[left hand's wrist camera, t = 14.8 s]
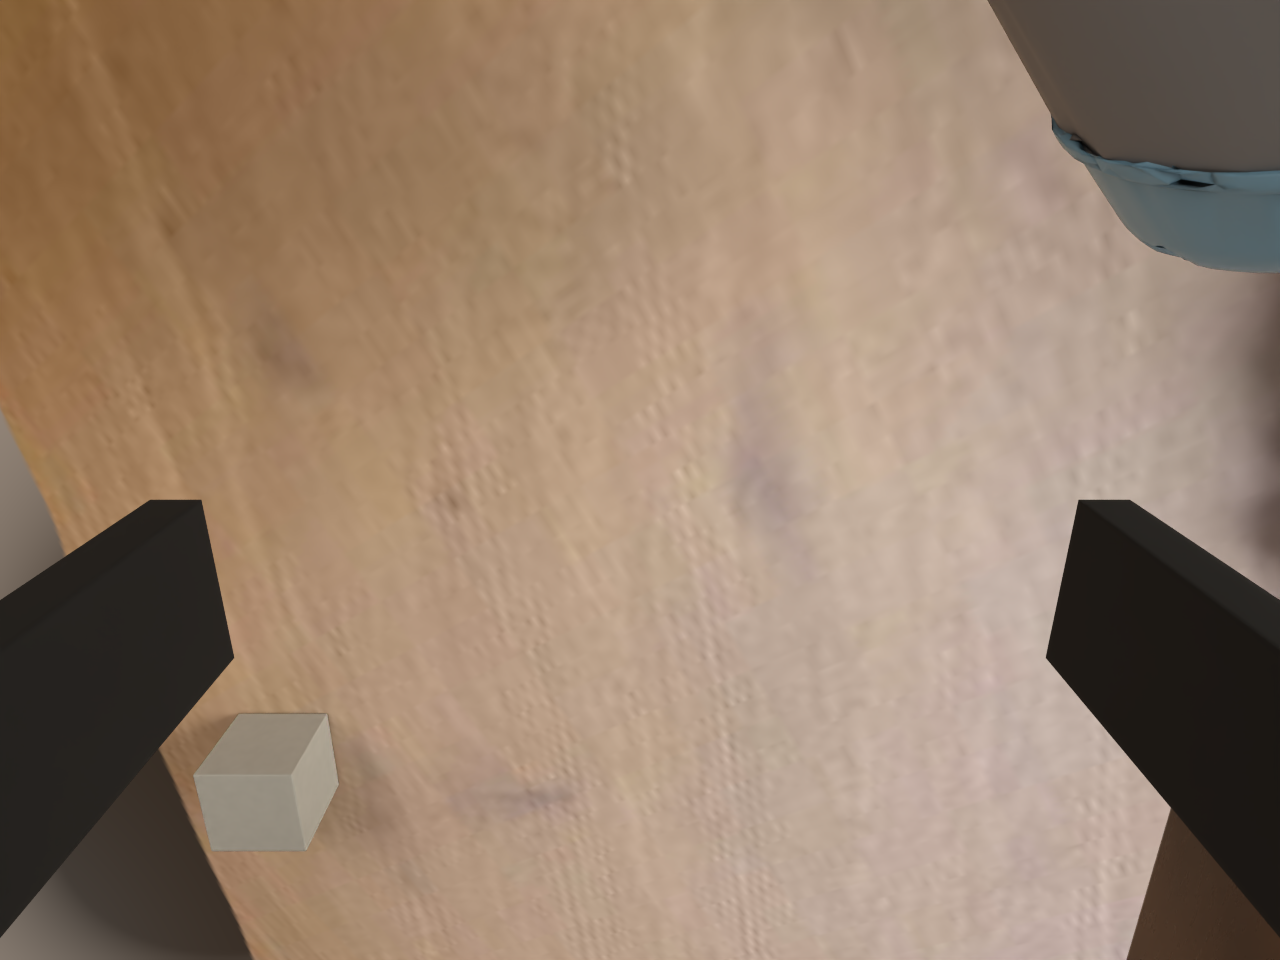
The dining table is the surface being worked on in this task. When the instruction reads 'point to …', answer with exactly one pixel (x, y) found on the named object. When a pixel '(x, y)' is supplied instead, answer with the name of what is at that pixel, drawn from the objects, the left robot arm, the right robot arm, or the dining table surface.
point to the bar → (1197, 908)
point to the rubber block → (267, 782)
